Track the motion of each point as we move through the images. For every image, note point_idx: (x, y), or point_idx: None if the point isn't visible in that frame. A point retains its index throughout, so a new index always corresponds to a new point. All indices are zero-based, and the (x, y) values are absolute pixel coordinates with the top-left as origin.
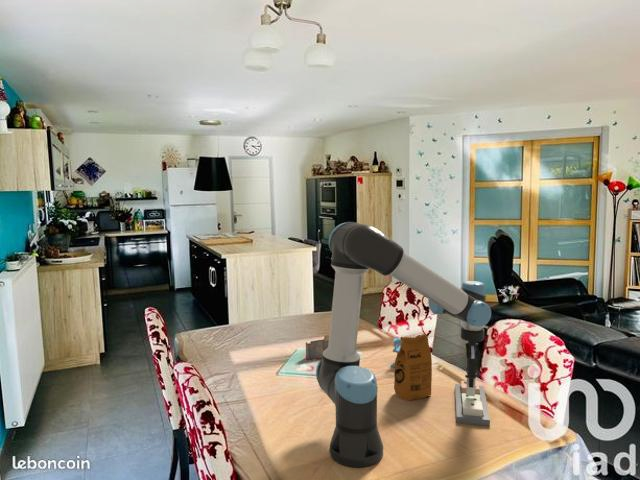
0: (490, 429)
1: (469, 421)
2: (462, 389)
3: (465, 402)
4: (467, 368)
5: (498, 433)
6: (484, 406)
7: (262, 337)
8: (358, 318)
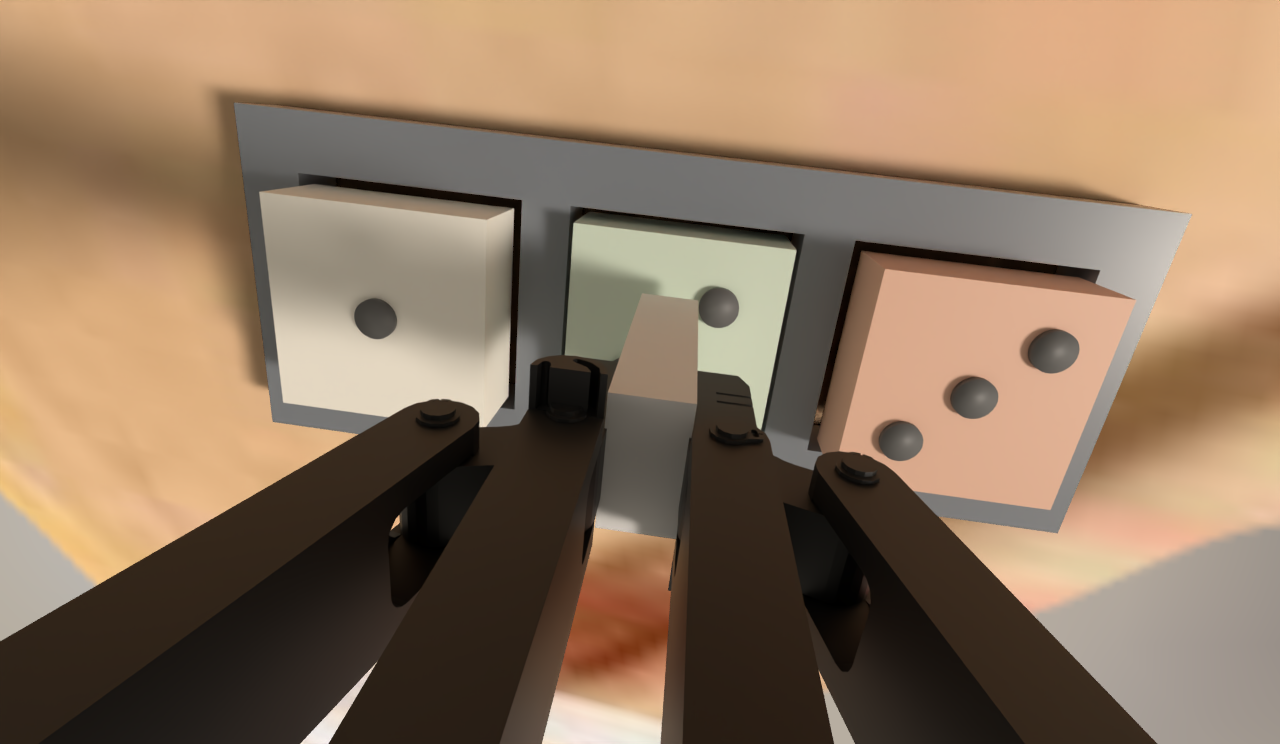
0: (256, 391)
1: None
2: (875, 275)
3: (418, 244)
4: (697, 493)
5: (213, 434)
6: None
7: None
8: None
